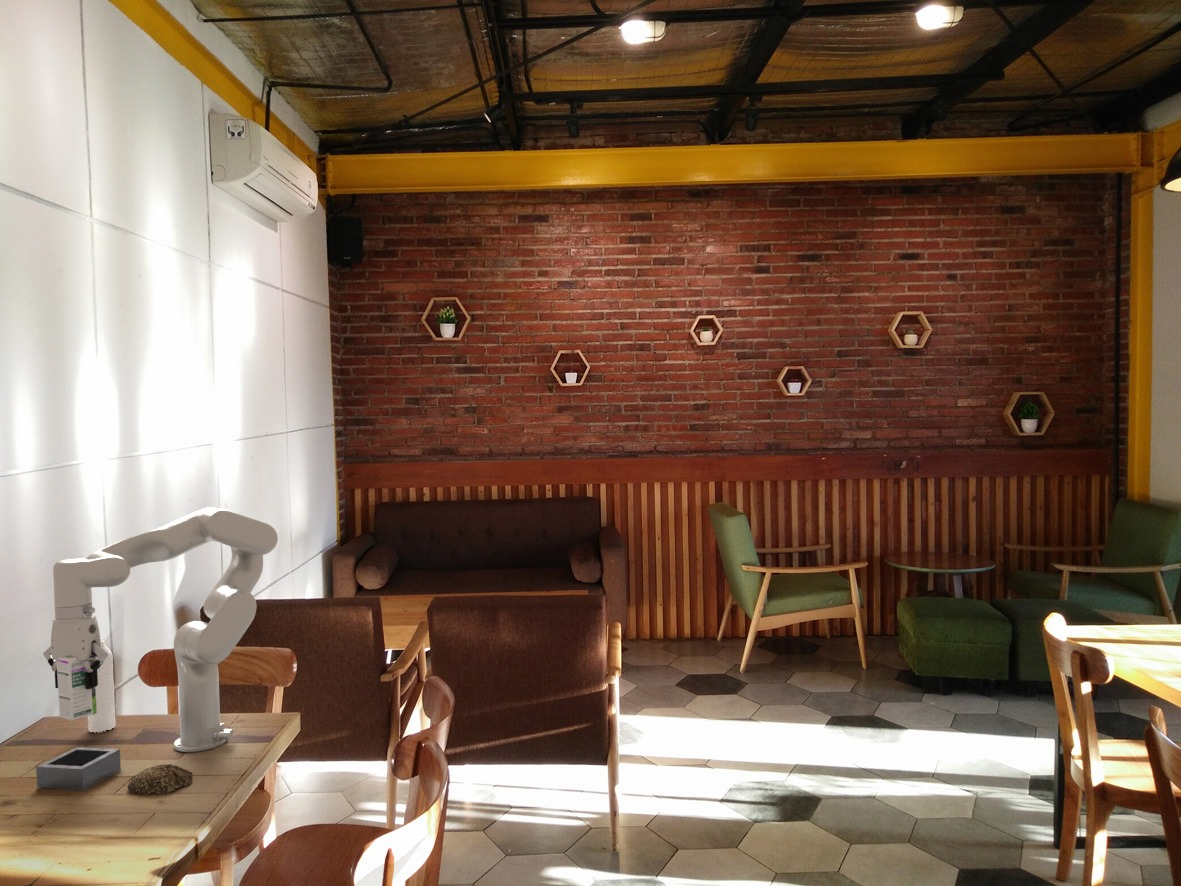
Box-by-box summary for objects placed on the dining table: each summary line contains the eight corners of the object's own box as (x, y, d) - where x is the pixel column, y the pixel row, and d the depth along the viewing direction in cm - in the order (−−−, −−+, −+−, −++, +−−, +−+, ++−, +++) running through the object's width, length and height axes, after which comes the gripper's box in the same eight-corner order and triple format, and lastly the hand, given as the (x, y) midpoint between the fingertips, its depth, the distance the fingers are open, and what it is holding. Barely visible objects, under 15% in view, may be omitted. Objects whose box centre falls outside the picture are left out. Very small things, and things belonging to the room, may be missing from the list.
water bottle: (89, 727, 239) (85, 637, 238) (116, 723, 242) (112, 634, 241) (87, 737, 231) (83, 644, 231) (114, 732, 234) (111, 641, 234)
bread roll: (119, 793, 196) (118, 771, 196) (163, 772, 208) (163, 751, 207) (162, 800, 191) (162, 778, 191) (205, 778, 203) (204, 757, 203)
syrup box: (72, 721, 200) (69, 658, 199) (58, 717, 203) (56, 655, 202) (97, 714, 204) (94, 652, 204) (83, 710, 208) (81, 649, 207)
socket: (120, 769, 209) (119, 749, 209) (83, 790, 197) (82, 769, 197) (76, 767, 211) (76, 747, 211) (37, 788, 199) (36, 766, 199)
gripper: (118, 609, 205) (120, 683, 206) (54, 608, 208) (56, 681, 209) (94, 616, 198) (97, 693, 198) (28, 615, 201) (31, 690, 201)
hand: (76, 686), depth 203 cm, fingers closed on syrup box, 7 cm apart
